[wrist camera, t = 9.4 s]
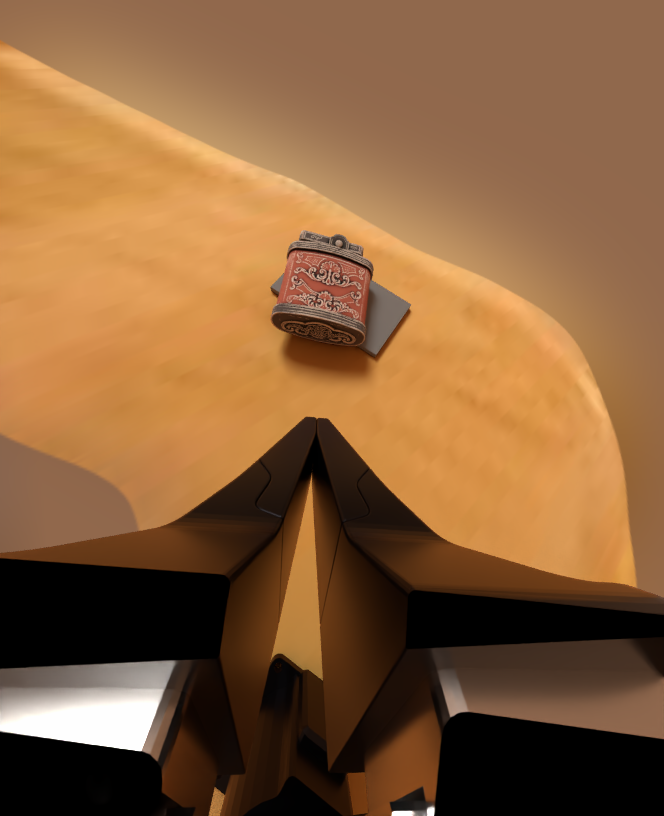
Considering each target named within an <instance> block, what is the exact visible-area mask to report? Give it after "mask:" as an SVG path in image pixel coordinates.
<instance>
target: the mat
mask: <svg viewBox="0 0 664 816" xmlns="http://www.w3.org/2000/svg"><path fill="white" fill-rule="evenodd" d="M283 277H284V274H283V275H282V276H281V277H280V278H279V279H278V280H277V281H276V282H275V283H274V284H273V285H272V286H271V291H273V292H274V293H276V294H277V295H279V293H280V289H281V285H282V281H283ZM410 306H411V304H409V303H408V302H406V301H405V300H403V299H401V298H400V297H398V296H397V295H395V294H393V293H392V292H390V291H388V290H387V289H385V288H384V287H382V286H380V285H379V284H377V283H376V282H374V281H372V280H371V281H370V286H369V294H368V302H367V310H366V318H365V326H366V335H365V340H364V342H363V343H362V344H360V345H357V346H358V347H359V348H361V349H362V350H364V351H365V352H367V353H368V354H370V355H372V356H373V357H375V356H376V355H377V353H378V352H379V351H380V349H381V348H382V346H383V345H384V343H385V342H386V340H387V339H388V338H389V336H390V335H391V333H392V332H393V330H394V329H395V328H396V326H397V325H398V323H399V322H400V320H401V319H402V318H403V316H404V315H405V313H406V312H407V310H408V309H409V308H410Z"/></svg>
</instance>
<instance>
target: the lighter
mask: <svg viewBox="0 0 664 816" xmlns="http://www.w3.org/2000/svg"><path fill="white" fill-rule="evenodd" d="M372 276H373V264H372V263H371V261H369V260H368V259H366V258H364V257H363V247H362V246H360V245H356V244H353V243H349V242H348V241H347V239H346V237H344V236H343V235H339V234H336V235H334V236H332V237H327V236H324V235H320V234H317V233H313V232H309V231H305V230H303V231H301V234H300V238H299V241H294V242H292V243H291V244H290V246H289V249H288V253H287V265H286V269H285V273H284V277H283V281H282V285H281V289H280V293H279V296H278V300H277V304H276V305H275V306H274V307H273V311H272V315H271V322H272V324H273V325H274V326H275V327H276V328H278V329H279V330H282V331H284V332H287V333H290V334H293V335H296V336H300V337H303V338H307V339H311V340H315V341H320V342H325V343H331V344H337V345H346V346H357V345H360V344H362V343H363V342H364V340H365V335H366V326H365V318H366V310H367V302H368V294H369V286H370V281H371V280H372Z"/></svg>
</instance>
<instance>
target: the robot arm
mask: <svg viewBox="0 0 664 816" xmlns="http://www.w3.org/2000/svg"><path fill="white" fill-rule="evenodd" d="M311 474H312V492H313V510H314V527H315V545H316V563H317V580H318V598H319V615H320V624H321V625H320V634H321V651H322V669H323V681H322V680H321V679H320V678H318V677H317V676H316V675H314V674H313V673H312V672H311V671H309V670H302V669H301V668H300V667H298V666H297V665H296V664H295V663H293V662H292V661H291V660H289V659H288V658H287V657H286V656H284V655H283V654H277V655H275V656H274V657H273V658H272V660H271V657H272V652H273V648H274V643H275V639H276V634H277V630H278V623H279V620H280V616H281V611H282V607H283V602H284V598H285V593H286V589H287V584H288V580H289V575H290V571H291V566H292V562H293V557H294V553H295V548H296V544H297V539H298V535H299V530H300V526H301V521H302V517H303V512H304V508H305V503H306V499H307V494H308V490H309V485H310V481H311ZM270 661H271V662H270ZM276 663H281V664H282V666H281V668H276V666H275V664H276ZM359 772H365V777H366V789H367V802H368V813H365V814H357V815H353V810H352V803H351V796H350V789H349V782H348V775H347V774H348V773H359ZM215 787H216V788H217V789H218V790H220V791H221V792H222V793H223V794H224V795H225V798H224V802H223V805H222V809H221V813H220V816H664V598H663V597H660V596H658V595H655V594H653V593H649V592H646V591H643V590H641V589H638V588H635V587H632V586H629V585H625V584H618V583H607V582H592V581H585V580H579V579H574V578H570V577H565V576H561V575H557V574H553V573H549V572H545V571H542V570H538V569H535V568H532V567H528V566H525V565H521V564H518V563H515V562H511V561H508V560H505V559H501V558H498V557H495V556H491V555H488V554H485V553H481V552H478V551H475V550H471V549H468V548H465V547H461V546H458V545H455V544H453V543H451V542H448V541H447V540H445V539H443V538H442V537H440V536H439V535H437V534H436V533H435V532H434V531H433V530H431V529H430V528H429V527H428V526H427V525H426V524H425V523H424V522H423V521H422V520H421V519H420V518H418V517H417V516H416V515H415V514H414V513H413V512H412V511H411V510H410V509H409V508H408V507H407V506H406V505H405V504H404V503H403V502H402V501H400V500H399V499H398V498H397V497H396V496H395V495H394V494H393V493H392V492H391V491H390V490H389V489H388V488H387V487H386V486H385V485H384V483H383V482H382V481H381V480H380V479H379V478H378V477H377V476H376V475H375V473H374V472H373V471H372V470H371V469H370V468H369V466H368V465H367V464H366V463H365V462H364V461H363V459H362V458H361V457H360V456H359V455H358V453H357V452H356V451H355V450H354V449H353V448H352V446H351V445H350V444H349V443H348V442H347V440H346V439H345V438H344V437H343V436H342V435H341V433H340V432H339V431H338V430H337V429H336V428H335V426H334V425H333V424H332V423H331V422H330V420H329V419H326V418H318V419H316V418H315V417H305V418H304V419H303V420H302V421H300V422H299V423H298V424H297V425H296V426H295V427H294V428H293V429H292V430H290V431H289V432H288V433H287V434H286V435H285V436H284V437H283V438H282V439H280V440H279V441H278V442H277V443H276V444H275V445H274V446H273V447H272V448H270V449H269V450H268V451H267V452H266V453H265V454H264V455H263V456H262V457H260V458H259V460H257V461H256V462H255V463H254V464H253V465H251V466H250V467H249V468H248V469H247V470H246V471H244V472H243V473H242V474H241V475H240V476H238V477H237V478H236V479H234V480H233V481H232V482H230V483H229V484H228V485H226V486H225V487H224V488H222V489H221V490H219V491H218V492H216V493H215V494H214V495H212V496H211V497H209V498H208V499H207V500H205V501H204V502H202V503H201V504H199V505H198V506H197V507H195V508H194V509H192V510H191V511H190V512H188V513H187V514H185V515H184V516H182V517H181V518H179V519H177V520H175V521H173V522H171V523H169V524H167V525H164V526H161V527H158V528H153V529H148V530H143V531H137V532H131V533H126V534H120V535H115V536H109V537H103V538H98V539H93V540H87V541H81V542H75V543H70V544H64V545H59V546H53V547H46V548H40V549H33V550H25V551H16V552H7V553H0V816H208V815H209V811H210V806H211V801H212V797H213V792H214V788H215Z"/></svg>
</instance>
